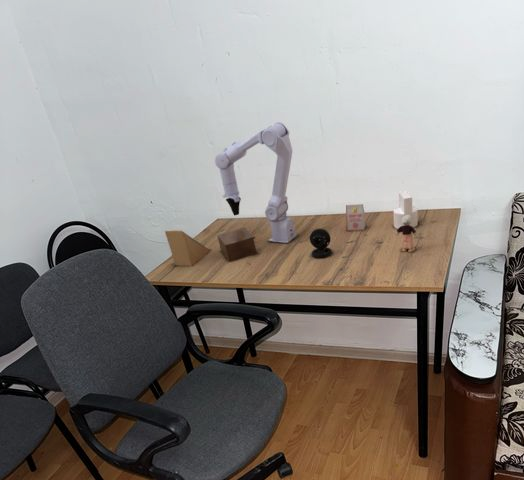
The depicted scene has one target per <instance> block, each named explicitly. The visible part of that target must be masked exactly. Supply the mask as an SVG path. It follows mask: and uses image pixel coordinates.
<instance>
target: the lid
mask: <svg viewBox="0 0 524 480" xmlns="http://www.w3.org/2000/svg"><path fill="white" fill-rule="evenodd" d="M216 236H217V239H218V238H219V239H220V240H221V241H222V243H223V244H224V245H225V246H226V247H227V246H231V245H234V244H237V243H241V242H244V241H247V240H251V239H254V240H255V239H256V237H255V235H253V234H252V232H251V231H249V229H248V228H246V227H245V226H244V227H241V228H237V229H234V230H230V231H227V232H224V233H220V234H217V235H216Z"/></svg>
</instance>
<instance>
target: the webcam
mask: <svg viewBox="0 0 524 480" xmlns="http://www.w3.org/2000/svg"><path fill="white" fill-rule="evenodd" d="M331 239H332V238H331V235H330V233H329V231H328V230H326V229H324V228H316V229H314V230H313V231H311V233H310V234H309V242H310V244H311V245H312V247H313V248H315V249H313V250H312V252H311V256H312V257H313V258H316V259H323V258H327V257H329V256H331V254H332V253H333V251H332V249H331V248H330V247H328V246H329V245H330V243H331Z"/></svg>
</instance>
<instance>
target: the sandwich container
mask: <svg viewBox="0 0 524 480" xmlns="http://www.w3.org/2000/svg"><path fill="white" fill-rule="evenodd" d="M164 233H165V236H166V237H165V238H166V239H167V243H168V246H169V249H170V253H171V255H172V258H173V260H174V264H175V266H183V267H184V266H186V267H192V266H193V265H195V264H196V263H197V262H199V261H200V260H201V259H202V258H203V257H204V256H205V255H207V254H208V253H209V252H210V251H211V249H209V248H208V247H206V246H205V245H203V244H202V243H201V242H199V241H197V240H196V239H194V238H193V237H191V236H190V235H189V234H187V233H186V232H184V231H183V230H178V229H177V230H174V229H172V230H164Z"/></svg>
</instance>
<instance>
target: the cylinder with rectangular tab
mask: <svg viewBox="0 0 524 480" xmlns="http://www.w3.org/2000/svg"><path fill="white" fill-rule="evenodd" d="M418 212H419V209H418V207H417V206H414V205H413V196H412V195H411V194H410V193H409V191H407V190H403V191H398V207H396V208H394V209H393V227H394V228H395V229H396V230H397V229H398V228H399V227H401V226H405V225H404V224H403V223H402V222H401V221H402V218H403V217H404V216H406V215H410V216H411V223H410V226H412V227H413V228H416V227H417V226H418V223H419V222H418V221H419V218H418V217H419V213H418Z"/></svg>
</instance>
